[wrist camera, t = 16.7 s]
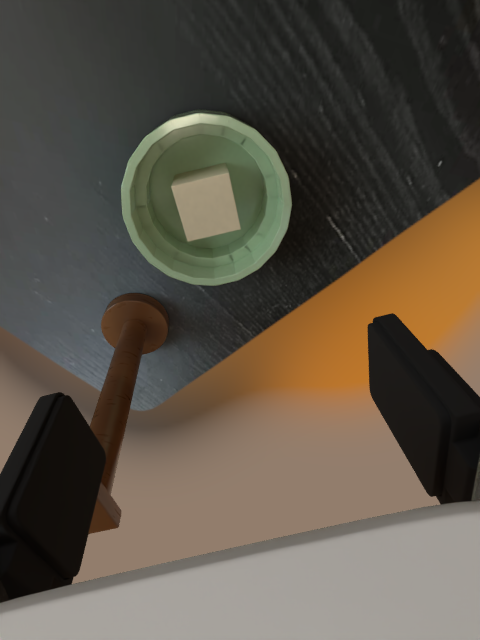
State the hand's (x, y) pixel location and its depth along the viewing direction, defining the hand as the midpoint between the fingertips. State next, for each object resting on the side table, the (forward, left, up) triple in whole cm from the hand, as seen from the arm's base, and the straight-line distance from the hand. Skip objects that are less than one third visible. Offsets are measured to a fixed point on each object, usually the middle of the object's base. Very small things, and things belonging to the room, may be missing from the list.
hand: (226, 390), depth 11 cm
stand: (-10, -9, -22) cm, 26 cm away
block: (0, +1, -22) cm, 22 cm away
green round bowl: (0, +1, -22) cm, 22 cm away
